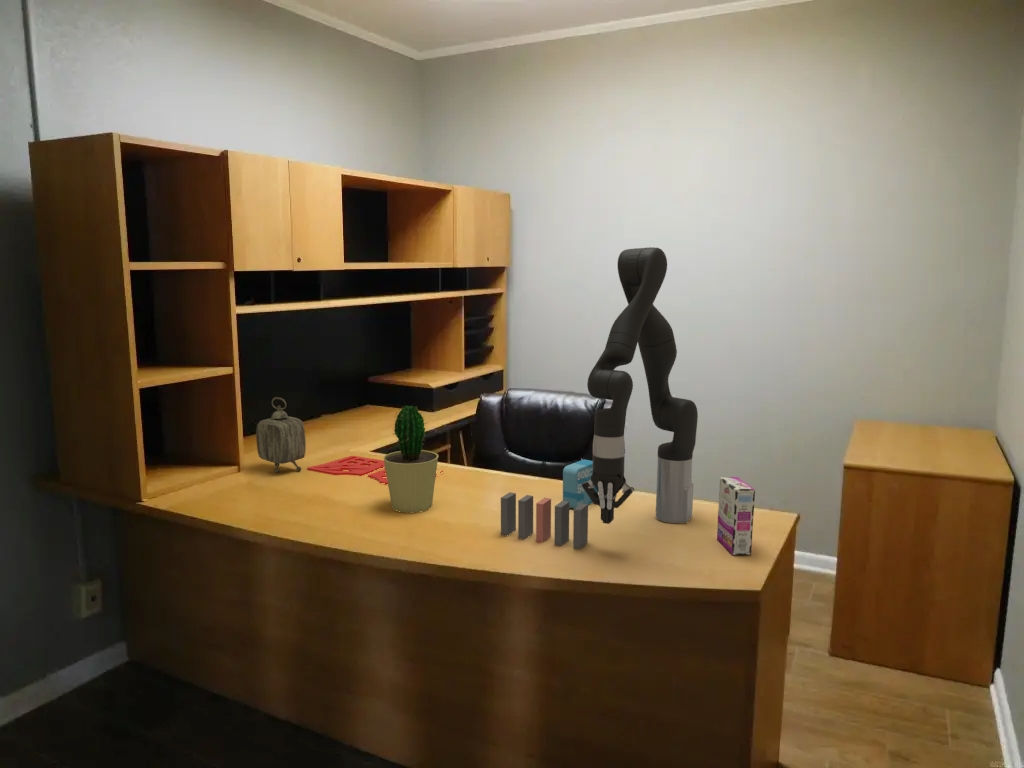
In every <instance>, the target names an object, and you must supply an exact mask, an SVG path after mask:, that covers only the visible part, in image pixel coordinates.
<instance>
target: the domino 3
mask: <svg viewBox="0 0 1024 768" xmlns="http://www.w3.org/2000/svg"><path fill="white" fill-rule="evenodd" d="M535 508H536V510H535V511H536V513H535V542H536V541H537V542H538V543H541V542H542V544H543V543H545V542H546V541H547V540H548V539H549V538H551V537H552V498H548V497H544V498H542V499H540V500H538V501H537V502H536V504H535Z"/></svg>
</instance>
